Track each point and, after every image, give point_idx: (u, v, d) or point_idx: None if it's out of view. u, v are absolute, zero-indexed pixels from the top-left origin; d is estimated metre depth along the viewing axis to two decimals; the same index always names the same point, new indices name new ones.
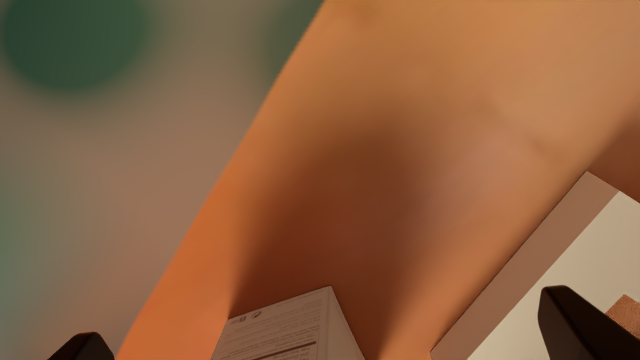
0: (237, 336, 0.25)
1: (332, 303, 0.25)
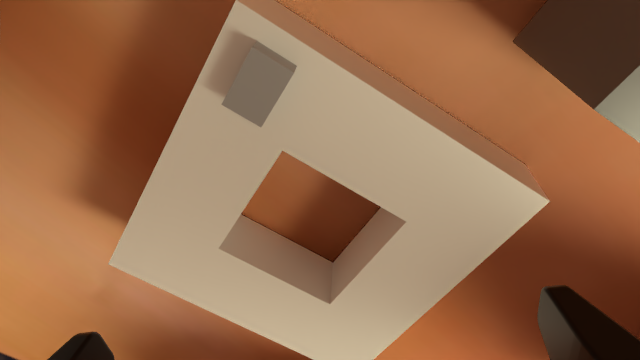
0: None
1: None
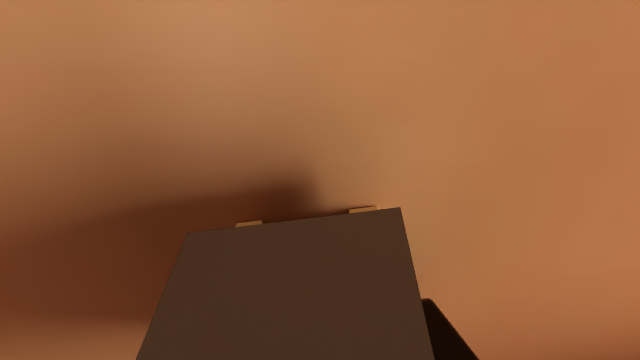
0: None
1: None
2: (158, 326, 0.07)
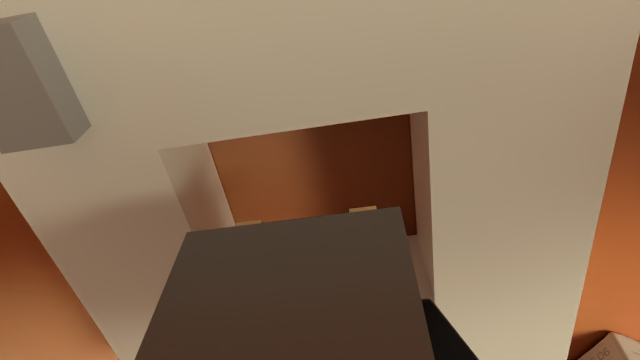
0: None
1: None
2: (157, 325, 0.07)
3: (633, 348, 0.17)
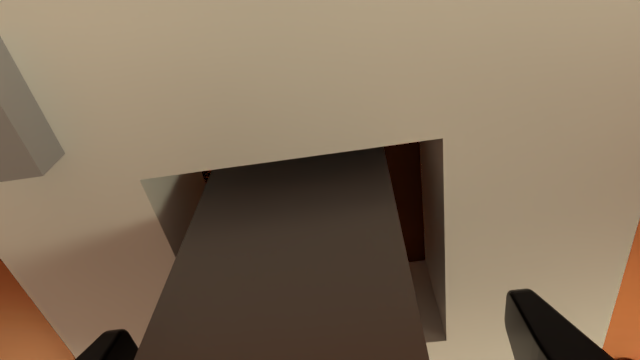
0: None
1: None
2: (196, 224, 0.09)
3: None
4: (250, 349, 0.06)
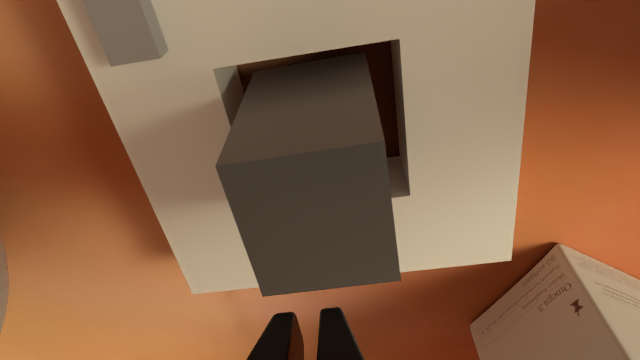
0: None
1: (479, 343, 0.24)
2: (249, 94, 0.14)
3: (574, 254, 0.22)
4: (289, 129, 0.11)
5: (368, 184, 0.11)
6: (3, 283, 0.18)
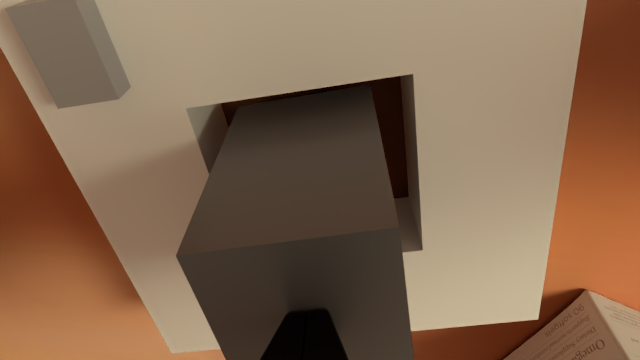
0: None
1: None
2: (229, 139, 0.12)
3: (605, 303, 0.19)
4: (274, 199, 0.09)
5: (377, 277, 0.08)
6: None
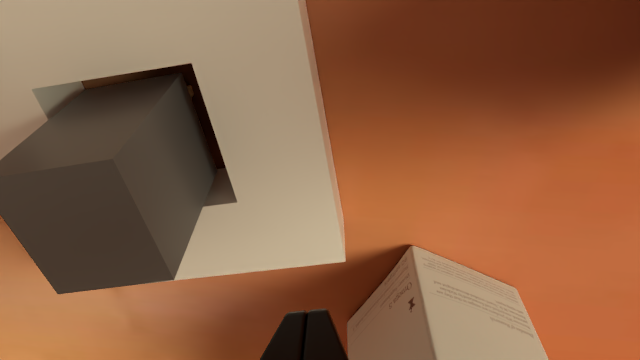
0: None
1: (350, 338, 0.26)
2: (61, 111, 0.16)
3: (425, 255, 0.23)
4: (57, 147, 0.13)
5: (113, 195, 0.12)
6: None
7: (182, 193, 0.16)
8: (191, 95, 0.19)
